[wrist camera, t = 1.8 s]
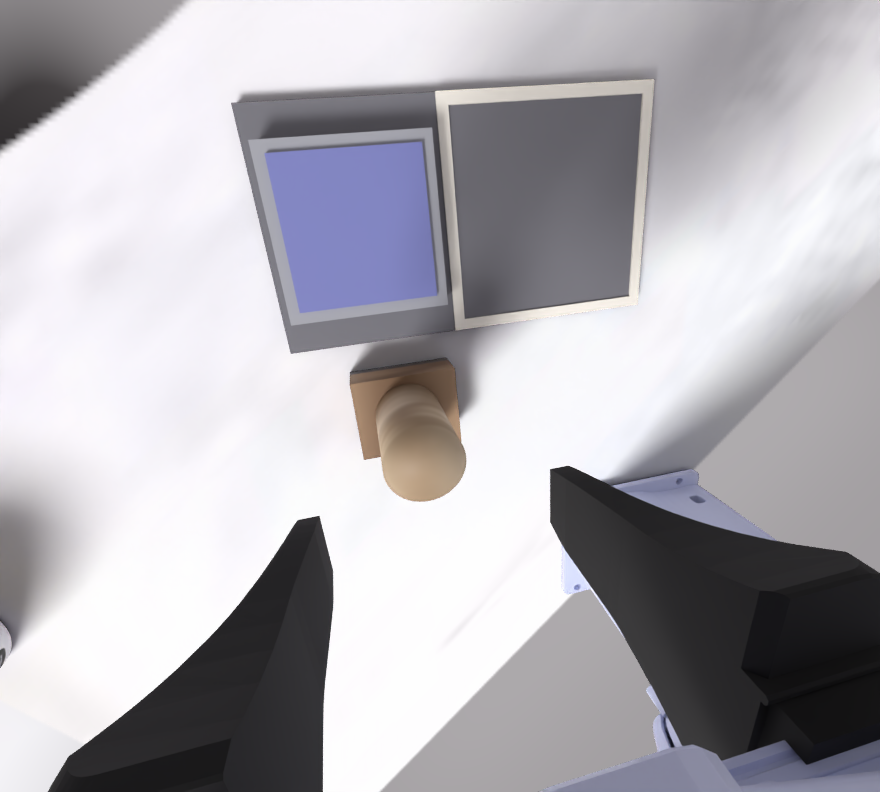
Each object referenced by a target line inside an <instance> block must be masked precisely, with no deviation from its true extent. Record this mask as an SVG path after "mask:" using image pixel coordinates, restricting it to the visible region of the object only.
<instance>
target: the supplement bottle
mask: <svg viewBox="0 0 880 792" xmlns="http://www.w3.org/2000/svg"><path fill="white" fill-rule="evenodd" d="M11 646H12V642H11V637H10V634H9V632H8V630H7V628H6V627H5V626H4V625H3V624H2V623H1V622H0V668H1V666H2V665H3V664H4V662H5V661H6V659H7V658H8V656H9V654H10V651H11Z"/></svg>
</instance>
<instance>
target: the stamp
mask: <svg viewBox="0 0 880 792" xmlns="http://www.w3.org/2000/svg"><path fill="white" fill-rule="evenodd" d="M350 388H351V393H352V399H353V404H354V409H355V414H356V420H357V425H358V430H359V436H360V441H361V446H362V451H363V457H364V460H366V459H371V458H377V457H381V461H382V468H383V475H384V478H385V481H386V483H387V485H388V486H389V487H390V489H391V490H392V491H393V492H394V493H396V494H397V495H399V496H400V497H402V498H404V499H407V500H411V501H419V502H420V501H430V500H434V499H437V498H440V497H442V496H444V495H445V494H447V493H448V492H450V491H451V490H452V489H453V488H454V487H455V486H456V485H457V484H458V483H459V481H460V480H461V478H462V476H463V474H464V471H465V467H466V453H465V450H464V447H463V445H462V443H461V432H460V421H459V410H458V399H457V388H456V377H455V368H454V367H453V365H452V364H451V363H450V362H449V361H448V359H447V358H441V359H434V360H427V361H421V362H414V363H408V364H401V365H395V366H388V367H382V368H375V369H368V370H362V371H355V372H350Z"/></svg>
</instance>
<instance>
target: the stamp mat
mask: <svg viewBox="0 0 880 792" xmlns="http://www.w3.org/2000/svg"><path fill="white" fill-rule="evenodd" d="M653 93H654V79H644V80H626V81H607V82H589V83H571V84H552V85H534V86H516V87H497V88H479V89H461V90H442V91H435V92H420V93H402V94H384V95H365V96H347V97H329V98H311V99H292V100H274V101H256V102H238V103H231V104H232V109H233V113H234V117H235V121H236V125H237V130H238V134H239V138H240V142H241V146H242V151H243V155H244V159H245V163H246V167H247V172H248V176H249V180H250V184H251V188H252V193H253V197H254V201H255V205H256V209H257V214H258V218H259V222H260V226H261V230H262V235H263V239H264V243H265V247H266V251H267V256H268V260H269V264H270V268H271V272H272V277H273V281H274V285H275V289H276V293H277V298H278V302H279V306H280V310H281V314H282V318H283V323H284V327H285V331H286V335H287V339H288V344H289V348H290V352H291V354H293V353H300V352H307V351H314V350H321V349H328V348H335V347H342V346H349V345H356V344H363V343H370V342H377V341H384V340H391V339H397V338H404V337H411V336H418V335H425V334H432V333H439V332H446V331H453V330H456V331H457V330H464V329H471V328H478V327H485V326H492V325H499V324H506V323H513V322H520V321H527V320H534V319H541V318H548V317H555V316H562V315H569V314H576V313H583V312H590V311H597V310H603V309H610V308H617V307H624V306H631V305H638V293H639V279H640V266H641V253H642V239H643V226H644V213H645V199H646V186H647V173H648V159H649V146H650V133H651V119H652V106H653Z"/></svg>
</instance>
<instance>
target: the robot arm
mask: <svg viewBox="0 0 880 792" xmlns="http://www.w3.org/2000/svg"><path fill="white" fill-rule="evenodd" d="M698 479H699V474H698V473H697V472H696V471H695V470H693V469H688V470H684V471H679V472H674V473H670V474H665V475H660V476H656V477H651V478H646V479H641V480H637V481H632V482H627V483H623V484H618V485H613V486H610V485H608V484H606V483H604V482H602V481H600V480H598V479H596V478H594V477H592V476H590V475H588V474H586V473H584V472H581V471H579V470H577V469H575V468H573V467H570V466H565V467H560V468H555V469H550V522H551V524H552V526H553V528H554V530H555V532H556V534H557V536H558V538H559V540H560V542H561V544H562V589H563V591H564V592H565V593H566V594H572V593H576V592H580V591H584V590H588V589H591V590H592V592H593V593H594V594H595V596H596V597H597V599H598V600H599V602H600V603H601V605H602V606H603V608H604V609H605V610H606V612H607V613H608V615H609V616H610V618H611V619H612V621H613V622H614V623H615V625H616V626H617V628H618V629H619V631H620V632H621V633H622V635H623V636H624V638H625V640H626V641H627V643H628V645H629V646H630V648H631V650H632V652H633V653H634V655H635V657H636V659H637V660H638V662H639V664H640V666H641V668H642V670H643V671H644V673H645V675H646V677H647V679H648V681H649V682H650V686H649V687H648V688H647V689H646V692H647V693H648V694H649V696H650V697H651V699H652V701H653V702H654V704H655V705H656V707H657V708H658V710H659V711H660V713H661V714H659V715H658V716H657V717H656V718H655V720H654V722H653V731H654V738H655V741H656V745H657V751H658V752H656V753H653V754H649V755H646V756H643V757H640V758H637V759H634V760H631V761H628V762H625V763H622V764H619V765H615V766H612V767H609V768H606V769H603V770H600V771H597V772H594V773H591V774H588V775H584V776H582V777H578V778H575V779H572V780H569V781H566V782H563V783H560V784H557V785H553V786H550V787H547V788H545V789H543V790H541V791H539V792H880V573H878V572H877V571H876V570H874V569H872V568H871V567H869V566H868V565H866V564H865V563H863V562H862V561H860V560H859V559H857V558H855V557H854V556H852V555H850V554H849V553H847V552H843V551H836V550H829V549H822V548H815V547H809V546H802V545H795V544H789V543H784V542H779V541H777V540H775V539H774V538H773V537H772V536H770V535H769V534H767V533H766V532H764V531H763V530H762V529H760V528H759V527H757V526H755V524H753V523H752V522H750V521H749V520H747V519H746V518H745V517H743V516H742V515H740V514H739V513H737V512H736V511H735V510H733V509H732V508H730V507H729V506H727V505H726V504H725V503H723V502H722V501H720V500H719V499H717V498H716V497H715V496H713V495H712V494H710V493H709V492H707V491H706V490H705V489H703V488H702V487H700V486H699V485H698ZM676 480H677V481H676ZM332 612H333V569H332V565H331V561H330V557H329V553H328V549H327V545H326V541H325V537H324V533H323V529H322V525H321V521H320V517H319V516H317V517H312V518H307V519H302V520H298V521H297V522H296V523H295V525H294V526H293V528H292V529H291V531H290V533H289V534H288V536H287V537H286V539H285V541H284V542H283V544H282V545H281V547H280V548H279V550H278V551H277V553H276V554H275V556H274V557H273V559H272V560H271V562H270V563H269V565H268V566H267V568H266V569H265V571H264V572H263V573H262V575H261V576H260V578H259V579H258V580H257V582H256V583H255V584H254V586H253V587H252V588H251V589H250V591H249V592H248V593H247V595H246V596H245V597H244V599H243V600H242V601H241V602H240V604H239V605H238V606H237V607H236V609H235V610H234V611H233V612H232V613H231V615H230V616H229V617H228V618H227V619H226V620H225V621H224V622H223V623H222V625H221V626H220V627H219V628H218V629H217V630H216V631H215V632H214V633H213V634H212V635H211V636H210V638H209V639H208V640H206V641H205V642H204V643H203V644H202V645H201V646H200V647H199V648H198V649H197V650H196V651H195V652H194V653H193V654H192V655H191V656H190V657H189V658H188V659H187V660H186V661H185V662H184V663H183V664H182V665H181V666H180V667H179V668H178V669H177V670H176V671H175V672H173V673H172V674H171V675H170V676H169V677H168V678H167V679H166V680H164V681H163V682H162V683H161V684H160V685H159V686H158V687H157V688H155V689H154V690H153V691H152V692H151V693H150V694H148V695H147V696H146V697H145V698H144V699H142V700H141V701H140V702H139V703H138V704H137V705H135V706H134V707H133V708H132V709H130V710H129V711H128V712H127V713H125V714H124V715H123V716H122V717H120V718H119V719H118V720H116V721H115V722H114V723H113V724H111V725H110V726H109V727H107V728H106V729H105V730H103V731H102V732H101V733H99V734H98V735H97V736H96V737H94V738H93V739H92V740H90V741H89V742H88V743H86V744H85V745H84V746H83V747H81V748H80V749H78V750H77V751H76V752H74V753H73V754H72V755H70V756H69V757H68V758H67V760H66V762H65V763H64V765H63V767H62V768H61V770H60V772H59V774H58V775H57V777H56V778H55V780H54V782H53V783H52V785H51V787H50V789H49V791H48V792H323V703H324V688H325V677H326V668H327V659H328V650H329V640H330V631H331V622H332Z"/></svg>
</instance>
